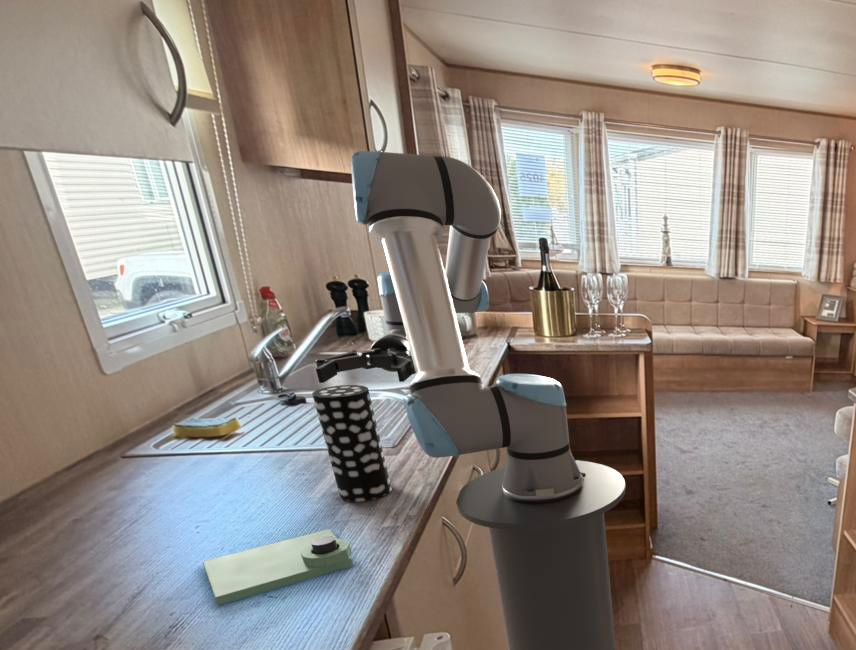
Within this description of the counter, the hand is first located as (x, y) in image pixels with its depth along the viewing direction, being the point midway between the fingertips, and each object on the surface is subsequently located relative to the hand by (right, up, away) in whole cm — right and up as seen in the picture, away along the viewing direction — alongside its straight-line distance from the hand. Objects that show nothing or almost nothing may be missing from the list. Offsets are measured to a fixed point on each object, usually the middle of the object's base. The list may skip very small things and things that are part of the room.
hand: (360, 375), depth 122 cm
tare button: (+12, -31, -25) cm, 42 cm away
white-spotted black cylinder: (+1, -23, 0) cm, 23 cm away
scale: (+5, -34, -25) cm, 43 cm away
